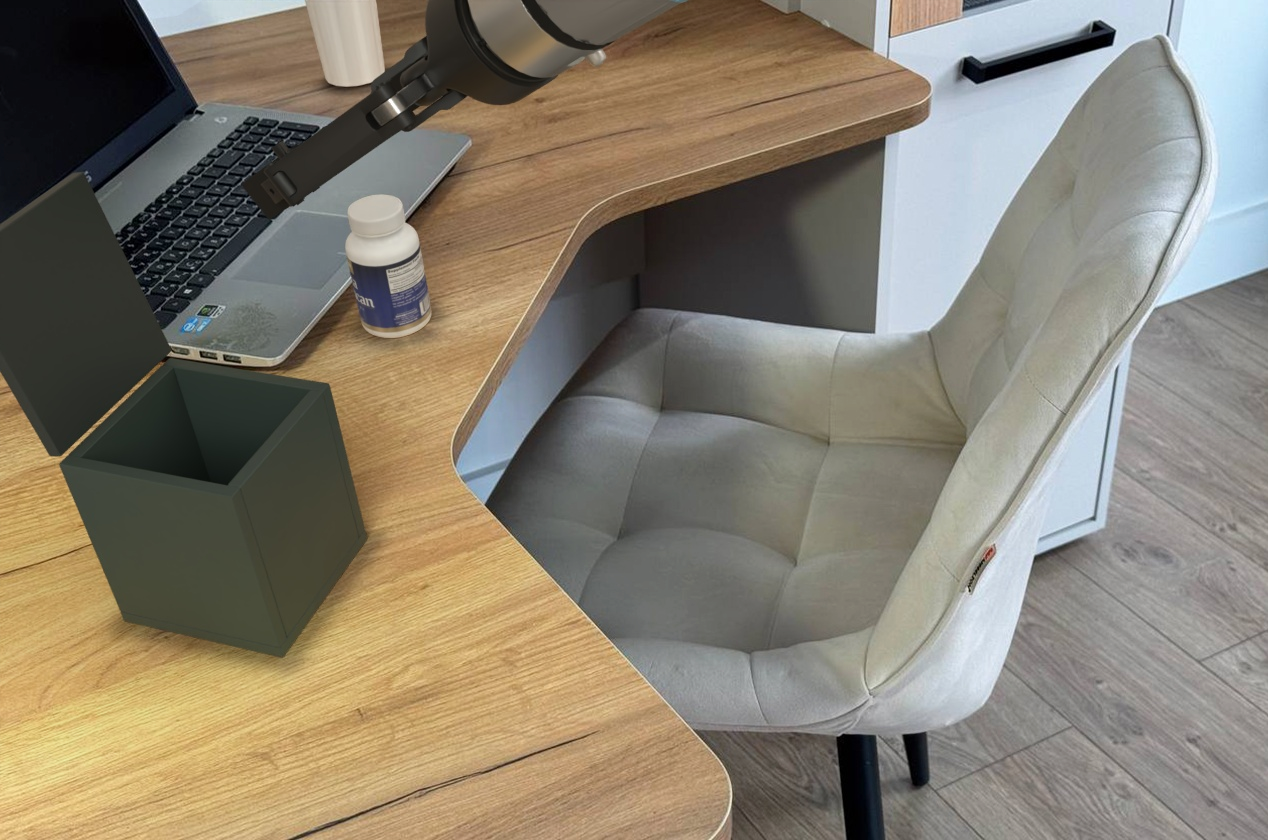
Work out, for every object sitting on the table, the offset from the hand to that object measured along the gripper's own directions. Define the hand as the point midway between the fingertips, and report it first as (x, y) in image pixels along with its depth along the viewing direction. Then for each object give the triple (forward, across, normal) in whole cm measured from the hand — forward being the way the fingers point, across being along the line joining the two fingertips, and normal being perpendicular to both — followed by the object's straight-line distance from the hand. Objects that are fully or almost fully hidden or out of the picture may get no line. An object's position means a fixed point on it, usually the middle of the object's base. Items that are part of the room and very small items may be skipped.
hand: (331, 145), depth 85 cm
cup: (+43, +38, +3) cm, 57 cm away
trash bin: (+1, -23, -17) cm, 28 cm away
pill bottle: (+12, +3, -14) cm, 18 cm away
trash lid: (-4, -22, +1) cm, 23 cm away
